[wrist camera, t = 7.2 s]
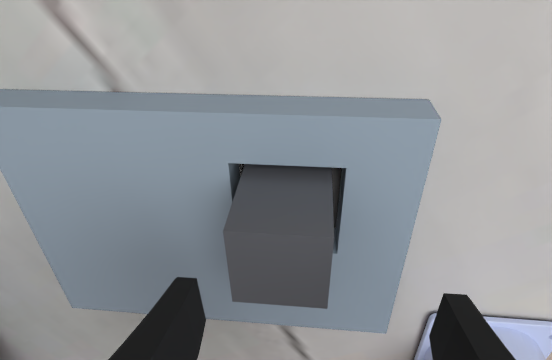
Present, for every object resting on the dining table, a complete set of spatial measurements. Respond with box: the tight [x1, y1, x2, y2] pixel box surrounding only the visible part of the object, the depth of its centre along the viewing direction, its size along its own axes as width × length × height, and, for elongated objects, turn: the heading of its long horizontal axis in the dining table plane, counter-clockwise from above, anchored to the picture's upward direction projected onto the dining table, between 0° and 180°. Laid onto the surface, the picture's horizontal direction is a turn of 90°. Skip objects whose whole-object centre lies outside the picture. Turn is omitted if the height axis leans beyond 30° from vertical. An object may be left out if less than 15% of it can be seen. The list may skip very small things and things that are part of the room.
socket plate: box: [0, 89, 441, 334], centre depth 20 cm, size 14×20×2 cm
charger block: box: [223, 164, 334, 309], centre depth 17 cm, size 4×4×6 cm
